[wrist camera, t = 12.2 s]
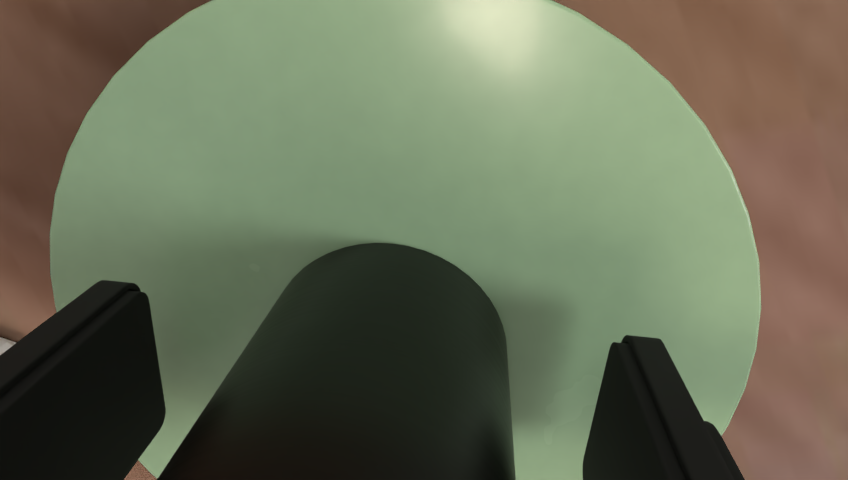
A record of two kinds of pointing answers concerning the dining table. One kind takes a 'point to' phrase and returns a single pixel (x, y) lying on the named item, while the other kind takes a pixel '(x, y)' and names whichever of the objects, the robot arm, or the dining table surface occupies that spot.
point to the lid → (403, 236)
